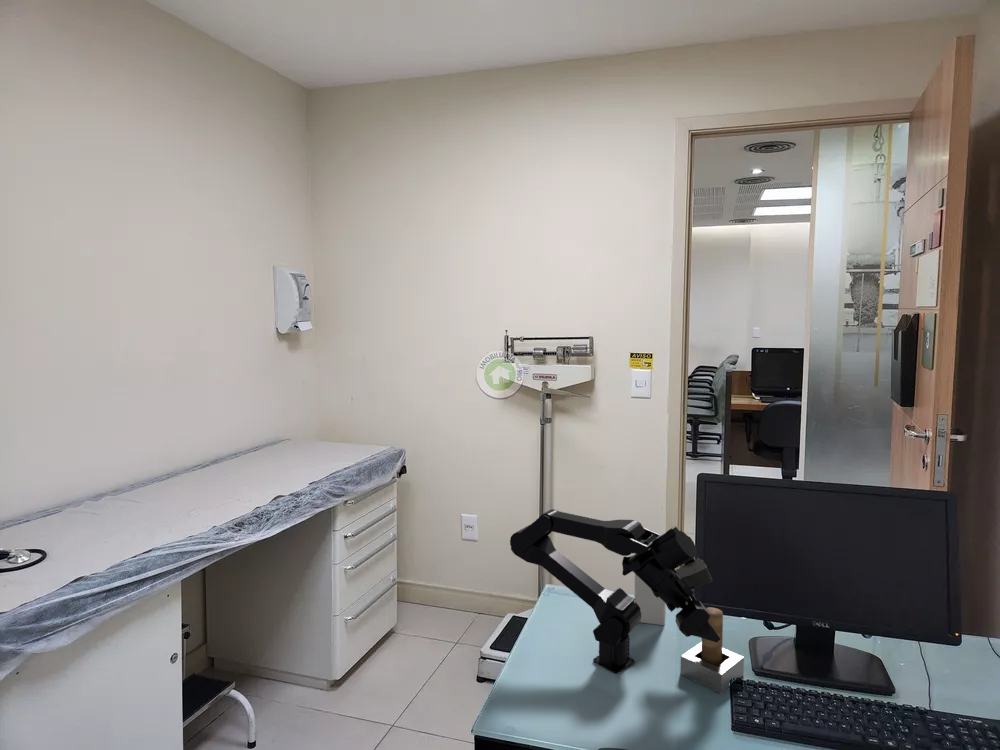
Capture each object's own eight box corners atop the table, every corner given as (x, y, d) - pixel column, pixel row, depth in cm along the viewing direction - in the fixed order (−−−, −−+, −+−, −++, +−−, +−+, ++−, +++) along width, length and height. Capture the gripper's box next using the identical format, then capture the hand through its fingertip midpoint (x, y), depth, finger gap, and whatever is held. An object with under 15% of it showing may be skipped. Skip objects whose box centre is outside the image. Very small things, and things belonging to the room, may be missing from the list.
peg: (715, 680, 127) (716, 619, 125) (697, 672, 130) (698, 612, 128) (725, 672, 129) (726, 612, 128) (707, 664, 132) (708, 605, 131)
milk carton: (634, 622, 151) (635, 545, 149) (636, 608, 158) (637, 535, 156) (664, 626, 149) (666, 549, 147) (665, 612, 156) (667, 538, 154)
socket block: (721, 693, 123) (721, 674, 123) (680, 674, 130) (680, 655, 129) (743, 675, 129) (743, 656, 129) (703, 657, 136) (703, 639, 135)
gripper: (699, 569, 118) (757, 625, 118) (676, 532, 136) (726, 581, 137) (656, 608, 119) (714, 664, 120) (638, 567, 137) (688, 615, 138)
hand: (711, 628), depth 129 cm, fingers open, 9 cm apart
